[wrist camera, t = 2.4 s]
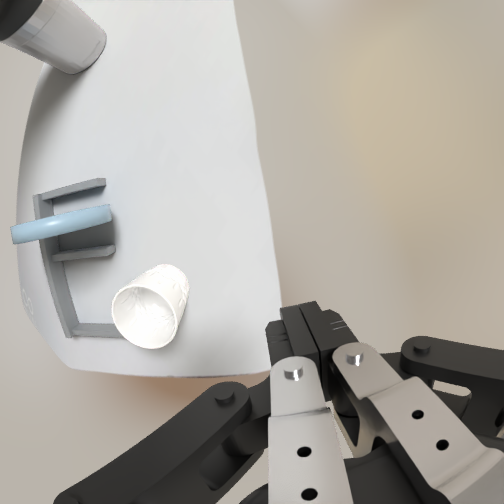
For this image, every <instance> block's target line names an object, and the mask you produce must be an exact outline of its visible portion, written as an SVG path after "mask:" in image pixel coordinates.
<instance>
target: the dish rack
mask: <svg viewBox="0 0 504 504" xmlns="http://www.w3.org/2000/svg"><path fill="white" fill-rule="evenodd" d="M105 185H106V180H105V178H96V179H92V180H88V181H84V182H80V183H76V184H73V185H69V186H66V187H62V188H59V189H55V190H52V191H49V192H45V193H42V194H37V195H34V196H33V203H34V211H35V219H36V220H35V221H31V222H27V223H23V224H19V225H16V226H12V227H11V234H12V240H13V244H20V243H25V242H30V241H35V240H39V243H40V248H41V253H42V258H43V262H44V267H45V271H46V275H47V279H48V283H49V287H50V290H51V294H52V297H53V300H54V304H55V307H56V310H57V313H58V316H59V319H60V322H61V325H62V328H63V331H64V333H65V336H66V338H72V337H73V336H74V335H79V336H98V337H123V336H122V334H121V333H120V332H119V331H118V329H117V328H116V326H115V324H90V323H79V321H78V318H77V315H76V311H75V308H74V305H73V302H72V298H71V295H70V291H69V287H68V283H67V280H66V276H65V271H64V267H63V263H62V261H65V260H74V259H83V258H92V257H101V256H108V255H110V254H112V253H114V252H115V246H114V245H107V246H99V247H91V248H83V249H76V250H69V251H61V252H60V248H59V243H58V238H57V235H61V234H65V233H69V232H73V231H77V230H81V229H85V228H88V227H92V226H96V225H99V224H103V223H106V222H109V221H111V220H112V217H111V209H110V204H108V205H102V206H97V207H92V208H87V209H82V210H78V211H73V212H68V213H64V214H59V215H55V216H54V212H53V204H52V199H53V198H57V197H60V196H64V195H68V194H72V193H75V192H79V191H83V190H88V189H92V188H96V187H100V186H105Z"/></svg>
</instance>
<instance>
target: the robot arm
mask: <svg viewBox="0 0 504 504" xmlns="http://www.w3.org/2000/svg"><path fill="white" fill-rule="evenodd" d="M0 42H1V43H4V44H6V45H8V46H11V47H13V48H16V49H18V50H20V51H22V52H24V53H27V54H29V55H31V56H33V57H35V58H37V59H39V60H41V61H43V62H45V63H47V64H49V65H51V66H53V67H55V68H57V69H59V70H61V71H63V72H65V73H67V74H76V73H79V72H81V71H83V70H85V69H86V68H88V67H89V66H90V65H91V64H92V63H93V62H94V61H95V60H96V59H97V58H98V57H99V55H100V54H101V52H102V51H103V48H104V46H105V43H106V33H105V32H104V30H103V29H102V28H101V27H100V26H99V25H97V24H96V23H95V22H94V21H93V20H92V19H91V18H90V17H89V16H88V15H87V14H86V13H85V12H84V11H82V10H81V9H80V8H79V7H78V6H77V5H76V4H75V3H74V2H72V1H71V0H0ZM280 315H281V320H278V321H272V322H269V324H268V325H267V327H266V329H265V331H266V337H267V343H268V349H269V355H270V360H271V366H272V368H271V371H270V375H269V376H268V378H267V379H265V380H264V381H263V382H261V383H260V384H258V385H255V386H253V387H250V388H248V389H247V388H246V386H244V385H243V384H241V383H238V382H222V383H218V384H216V385H213V386H211V387H210V388H209V389H207V390H206V391H205V392H203V393H202V394H201V395H200V396H199V397H197V398H196V399H195V400H194V401H193V402H191V403H190V404H189V405H188V406H186V407H185V408H184V409H183V410H181V411H180V412H179V413H177V414H176V415H175V416H174V417H172V418H171V419H170V420H168V421H167V422H166V423H165V424H163V425H162V426H161V427H159V428H158V429H157V430H156V431H154V432H153V433H151V434H150V435H149V436H147V437H146V438H144V439H143V440H142V441H140V442H139V443H138V444H136V445H135V446H133V447H132V448H130V449H129V450H128V451H126V452H125V453H123V454H122V455H120V456H119V457H117V458H116V459H114V460H113V461H112V462H110V463H108V464H107V465H106V466H104V467H102V468H101V469H100V470H98V471H96V472H95V473H93V474H91V475H90V476H88V477H87V478H85V479H83V480H82V481H80V482H78V483H77V484H75V485H73V486H72V487H70V488H68V489H66V490H65V491H63V492H61V493H60V494H59V495H58V496H57V497H56V499H55V500H54V503H53V504H216V503H217V502H218V501H219V500H220V499H221V498H222V497H223V496H224V495H225V494H226V493H227V492H228V491H229V490H230V489H231V488H232V487H233V486H234V485H235V484H236V483H237V482H238V481H239V480H240V479H241V478H242V477H243V475H244V474H245V473H246V472H247V471H248V470H249V469H250V468H251V467H252V465H254V463H255V462H256V461H257V460H258V459H259V458H260V456H261V455H262V454H263V452H264V449H265V448H268V458H269V459H268V476H269V477H268V478H269V481H268V483H267V484H265V485H263V486H262V487H260V488H258V489H256V490H255V491H253V492H252V493H251V494H249V495H248V496H247V497H246V498H244V499H243V500H242V501H241V502H240V503H239V504H504V350H498V349H492V348H486V347H480V346H474V345H469V344H464V343H458V342H453V341H448V340H443V339H437V338H432V337H428V336H416V337H412V338H410V339H408V340H406V341H405V342H404V343H403V345H402V347H401V352H396V353H386V354H379V353H378V352H377V351H376V350H375V349H374V348H373V347H372V346H370V345H368V344H365V343H360V342H359V341H358V340H357V338H356V337H355V336H354V334H353V333H352V331H351V330H350V329H349V327H347V324H346V323H345V322H344V321H343V319H342V317H341V316H340V315H339V314H338V313H336V312H334V311H332V310H330V309H329V310H325V311H322V310H321V309H320V307H319V305H318V304H317V302H316V301H312V302H308V303H303V304H299V305H298V306H297V305H294V306H289V307H284V308H280ZM435 380H437V381H441V382H445V383H449V384H454V385H459V386H462V387H467V388H468V389H469V390H470V391H471V393H470V394H469V395H467V396H458V395H454V394H449V393H446V392H442V391H438V390H433V385H434V381H435ZM331 400H332V403H333V405H334V418H335V420H336V422H337V424H338V426H339V428H340V430H341V432H342V434H343V436H344V438H345V440H346V442H347V444H348V446H349V448H350V450H351V452H352V454H353V457H354V458H349V459H343V456H342V452H341V448H340V444H339V440H338V436H337V432H336V428H335V424H334V420H333V416H332V413H331V409H330V408H329V407H328V408H327V407H326V403H325V402H327V401H331Z"/></svg>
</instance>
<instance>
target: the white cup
mask: <svg viewBox="0 0 504 504" xmlns="http://www.w3.org/2000/svg"><path fill="white" fill-rule="evenodd" d="M189 289H190V287H189V284H188V280H187V277H186V276H185V275H184V274H183V273H182V272H181V270H180V269H178V268H176V267H174V266H172V265H169V264H159V265H157V266H155V267H153V268H151V269H149V270H148V271H146V272H144V273H143V274H141V275H140V276H138V277H137V278H135V279H134V280H133V281H131V282H130V283H129V284H127V285H126V286H125V287H123V288H122V289H121V290H120V291H118V293H117V294H116V295H115V297H114V299H113V302H112V307H111V313H112V318H113V321H114V324H115V326H116V328H117V329H118V331H119V332H120V333H121V334H122V336H123V337H125V338H126V339H127V340H128V341H129V342H131V343H133V344H134V345H137V346H139V347H142V348H147V349H156V348H161V347H163V346H165V345H167V344H168V343H169V342H170V341H171V340H172V339H173V338H174V336H175V334H176V331H177V328H178V326H179V323H180V320H181V318H182V315H183V312H184V309H185V306H186V303H187V299H188V295H189Z"/></svg>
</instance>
